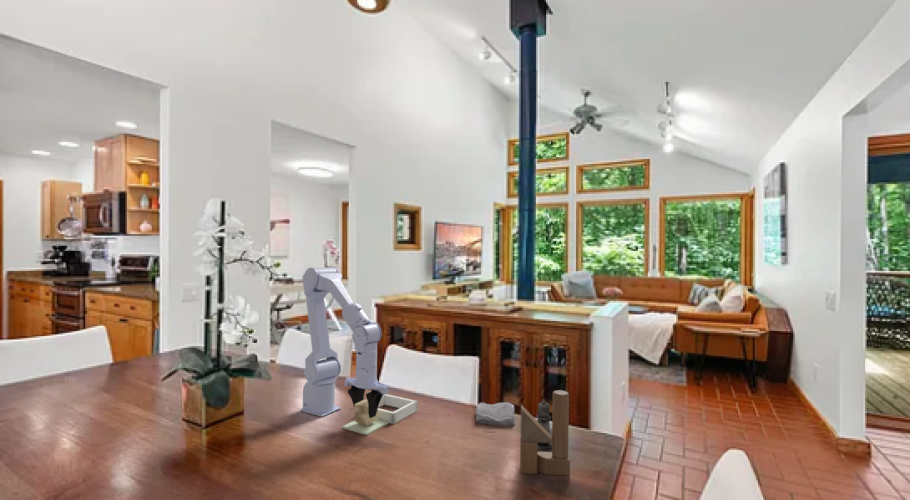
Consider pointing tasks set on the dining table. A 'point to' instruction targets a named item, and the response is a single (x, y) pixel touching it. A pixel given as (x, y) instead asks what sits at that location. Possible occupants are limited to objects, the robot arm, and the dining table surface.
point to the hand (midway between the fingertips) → (365, 414)
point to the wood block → (363, 413)
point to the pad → (365, 426)
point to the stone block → (495, 414)
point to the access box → (403, 404)
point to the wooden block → (546, 440)
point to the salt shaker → (544, 423)
